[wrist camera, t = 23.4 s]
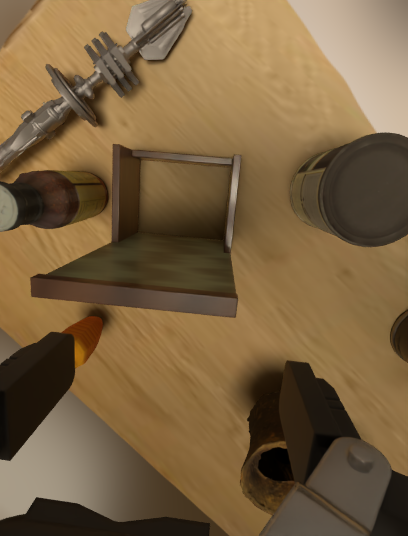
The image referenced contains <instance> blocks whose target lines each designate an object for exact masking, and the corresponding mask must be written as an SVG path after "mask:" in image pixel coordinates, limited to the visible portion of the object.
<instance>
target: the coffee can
mask: <svg viewBox="0 0 408 536" xmlns="http://www.w3.org/2000/svg"><path fill="white" fill-rule="evenodd" d="M290 200H291V205H292V207H293V209H294V211H295V213H296V214H297V216H298V217H299V218H300V219H301V220H302V221H303V222H305V223H306V224H308V225H310V226H313V227H315V228H319V229H321V230H323V231H326V232H328V233H330V234H333V235H335V236H338V237H339V238H340V239H342V240H344V241H346V242H348V243H350V244H353V245H356V246H362V247H378V246H383V245H387V244H390V243H393V242H395V241H397V240H399V239H401V238H403V237H404V236H406V235H407V234H408V138H407V137H405V136H402V135H400V134H395V133H375V134H371V135H366V136H364V137H361V138H359V139H357V140H355V141H353V142H351V143H349V144H346V145H343V146H340V147H338V148H335V149H332V150H329V151H327V152H322V153H319V154H316V155H314V156H312V157H311V158H309V159H308V160H306V161H305V162H304V163H303V164H302V165H301V166H300V167H299V169H298V170H297V172H296V173H295V175H294V177H293V180H292V183H291V187H290Z"/></svg>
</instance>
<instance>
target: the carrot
mask: <svg viewBox="0 0 408 536" xmlns="http://www.w3.org/2000/svg"><path fill="white" fill-rule="evenodd" d="M102 327H103V322H102V320H101V318H100V317H95V316H90V317H87V318H84V319H82V320H81V321H79V322H77V323H75V324H73V325H72V326H70V327H68V328H67V329H65V330H64V331H63V332H62V333H67V334H72V335H73V336H74V339H75V368H77V367H79V366H81V365H83V364H84V363H85V362H86V361H87V360H88V358H89V357H90V356H91V354H92V353H93V351H94V350H95V348H96V346H97V344H98V342H99V339H100V336H101V332H102Z"/></svg>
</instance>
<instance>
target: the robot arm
mask: <svg viewBox="0 0 408 536" xmlns="http://www.w3.org/2000/svg"><path fill="white" fill-rule="evenodd" d="M391 344H392V347H393V349H394V351H395V352H396V353H397V354H398V355H399V356H400V357H401V358H402V359H403V360H405V361H406V362H407V363H408V311H406V312H405V313H404V314H402V315H401V316H400V317H399V318H398V319H397V321H396V322H395V324H394V326H393V328H392V331H391ZM74 375H75V339H74V336H73V335H72V334H67V333H59V332H50V333H49V334H48V335H46V336H45V337H44V338H42V339H41V340H40V341H39V342H37V343H33V344H31V345H29V346H26V347H24V348H22V349H20V350H18V351H17V352H16V353H14V354H13V355H12V356H10V358H9V359H6V360H5V361H4V362H2V363H1V365H0V459H1V460H8V461H10V460H11V459H12V458H13V457H14V455H15V454H16V453H17V452H18V451H19V449H20V448H21V447H22V446H23V445H24V443H25V442H26V441H27V440H28V438H29V437H30V436H31V435H32V434H33V432H34V431H35V430H36V429H37V427H38V426H39V425H40V424H41V422H42V421H43V420H44V419H45V418H46V416H47V415H48V414H49V413H50V411H51V410H52V409H53V408H54V407H55V405H56V404H57V403H58V402H59V400H60V399H61V398H62V397H63V395H64V394H65V393H66V392H67V391H68V389H69V388H70V386H71V385H72V382H73V379H74ZM279 414H280V419H281V424H282V428H283V432H284V437H285V441H286V446H287V450H288V454H289V459H290V463H291V468H292V472H293V476H294V481H295V484H294V486H293V487H292V488H291V490H290V491H289V493H288V494H287V496H286V497H285V498H284V500H283V501H282V503H281V504H280V506H279V507H278V508H277V510H276V511H275V513H274V514H273V516H272V517H271V518H270V520H269V521H268V523H267V524H266V526H265V527H264V528H263V530H262V531H261V533H260V534H259V536H408V477H407V476H405V475H402V474H400V473H397V472H395V471H393V470H392V469H391V466H390V464H389V462H388V460H387V459H386V458H385V456H384V455H383V454H382V453H381V452H380V451H379V450H377V449H376V448H375V447H373V446H372V445H370V444H369V443H367V442H365V441H362V440H361V438H360V436H359V434H358V432H357V430H356V429H355V427H354V425H353V423H352V421H351V419H350V417H349V415H348V414H347V412H346V410H345V408H344V406H343V404H342V402H341V401H340V399H339V397H338V395H337V393H336V391H335V389H334V388H333V387H332V386H331V385H329V384H328V383H327V382H326V381H325V380H324V379H320V378H316V377H315V375H314V373H313V371H312V369H311V367H310V365H309V363H304V362H296V361H287V362H286V364H285V369H284V375H283V381H282V387H281V393H280V399H279ZM209 527H210V523H203V522H197V521H190V520H183V519H177V518H169V517H161V518H153V519H144V520H136V521H127V522H116V521H113V520H111V519H109V518H107V517H104V516H103V515H100V514H98V513H96V512H94V511H92V510H90V509H88V508H86V507H84V506H82V505H80V504H77V503H71V502H64V501H57V500H51V499H44V498H38V497H36V499H35V500H34V502H33V503H32V505H31V506H30V508H29V510H28V511H27V513H26V514H23V515H17V516H13V517H9V518H6V519H3V520H0V536H209V529H210V528H209Z"/></svg>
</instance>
